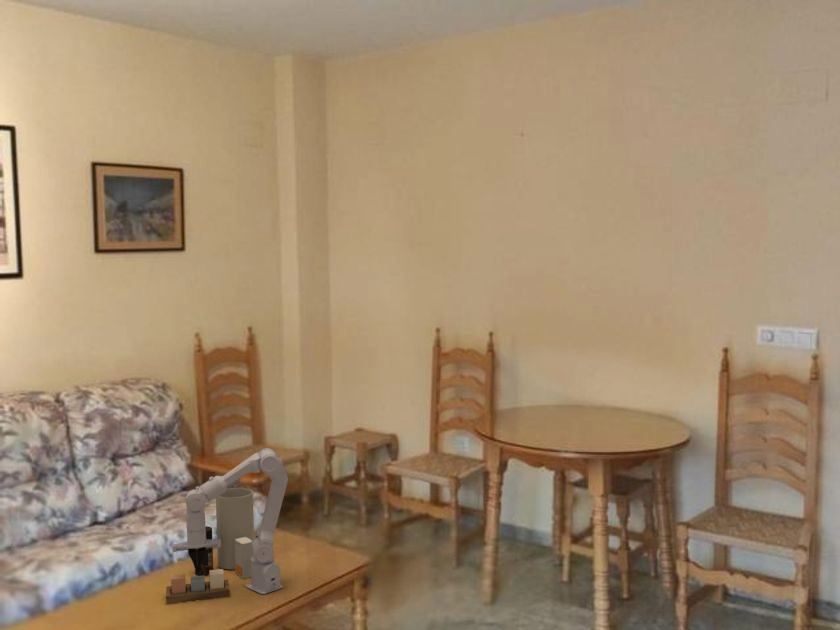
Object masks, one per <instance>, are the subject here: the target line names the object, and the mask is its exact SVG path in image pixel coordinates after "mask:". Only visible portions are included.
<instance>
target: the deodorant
mask: <svg viewBox="0 0 840 630" xmlns="http://www.w3.org/2000/svg"><path fill="white" fill-rule="evenodd" d="M206 540H213V528H212V526H208V525H207V526H206ZM213 549H214V547H210V548H206V553H205V555H204V558H203V560H202V563H201V568H200V572H198V573H195V572H194V575H195V576H204V577H208V576H210V575H209V570H214V552H213V551H214V550H213ZM196 553H197V567H198V550H197V549H196Z"/></svg>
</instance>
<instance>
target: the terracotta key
mask: <svg viewBox="0 0 840 630" xmlns="http://www.w3.org/2000/svg"><path fill="white" fill-rule="evenodd" d="M170 575H171V577H170V584H171V585H170V586H171V588H172V594H177V593H185V592H186V584H187V581H186V573H177V574H176V573H175V574H170Z"/></svg>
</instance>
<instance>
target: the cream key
mask: <svg viewBox="0 0 840 630" xmlns="http://www.w3.org/2000/svg"><path fill="white" fill-rule="evenodd" d="M208 576H209V582H210V590H211V589H219V588H224V580H225V579H224V578H225V574H224V569H223V568H219V569H213V570H209V575H208Z"/></svg>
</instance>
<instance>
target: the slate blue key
mask: <svg viewBox="0 0 840 630" xmlns="http://www.w3.org/2000/svg"><path fill="white" fill-rule="evenodd" d="M205 577H206V576H197V575H195V576H190V584H191V592H195V591H204V590H205V582H206V580H205Z"/></svg>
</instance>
